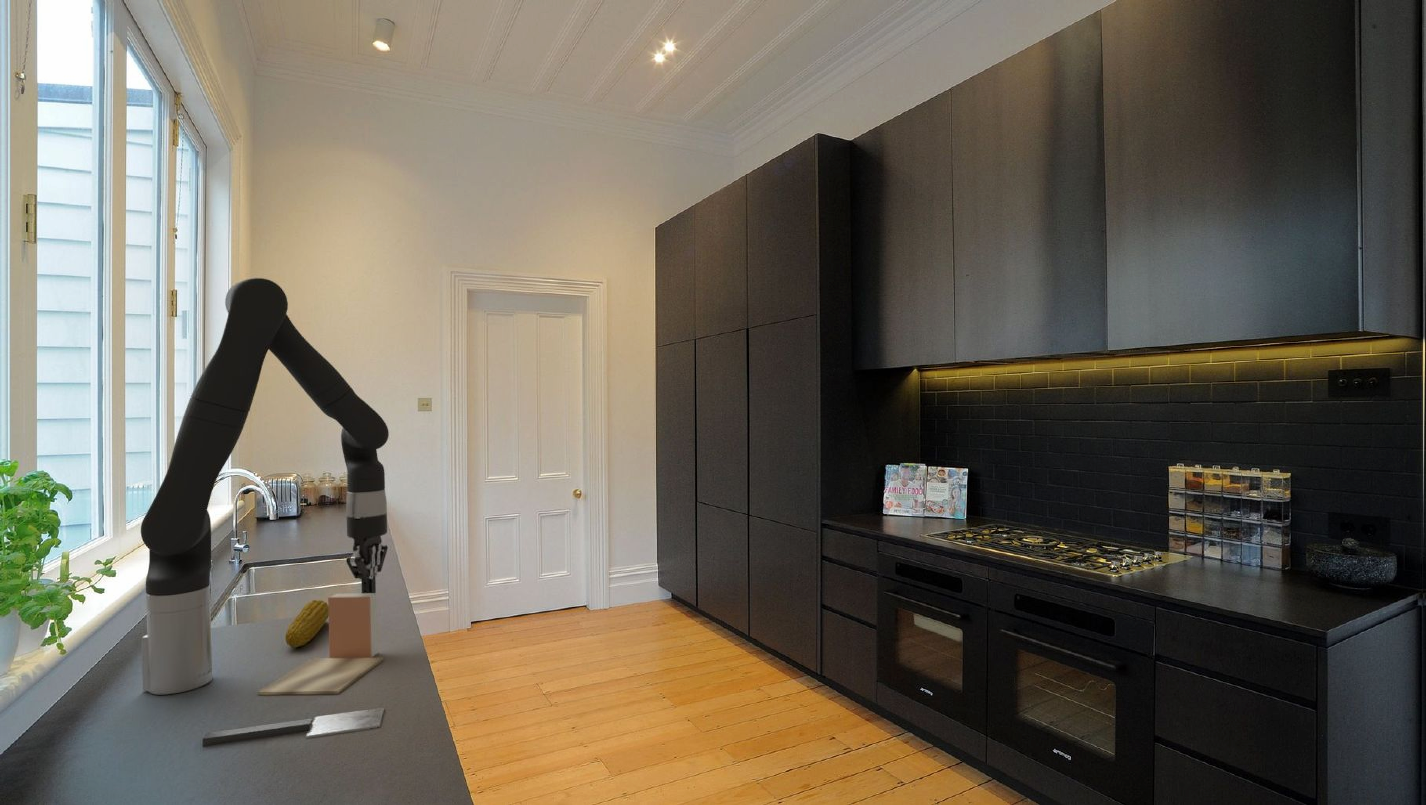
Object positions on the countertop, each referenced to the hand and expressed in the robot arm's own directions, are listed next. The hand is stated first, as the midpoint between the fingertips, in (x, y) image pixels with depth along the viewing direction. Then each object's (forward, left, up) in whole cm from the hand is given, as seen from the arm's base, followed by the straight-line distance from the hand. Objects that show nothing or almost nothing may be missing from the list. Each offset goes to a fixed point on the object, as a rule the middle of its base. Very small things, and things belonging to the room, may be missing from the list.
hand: (368, 596), depth 150 cm
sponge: (0, -6, -10) cm, 12 cm away
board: (0, -17, -10) cm, 20 cm away
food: (-16, +6, -10) cm, 20 cm away
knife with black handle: (+8, -38, -10) cm, 41 cm away
